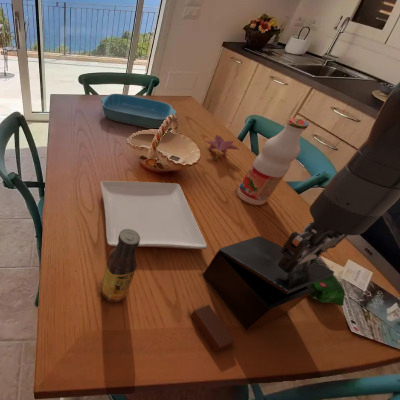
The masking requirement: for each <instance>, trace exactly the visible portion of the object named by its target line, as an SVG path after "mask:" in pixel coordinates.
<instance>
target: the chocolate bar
mask: <svg viewBox="0 0 400 400" xmlns="http://www.w3.org/2000/svg"><path fill="white" fill-rule="evenodd" d="M190 317H191V318H192V319H193V321H194V322H195V324H196V325H197V327H198V328H199V330H200V331H201V333H202V334H203V336H204V337H205V339H206V340H207V342H208V343H209V345H210V346H211V348H212V350H213V351H214V352H215V353H216V352H218V351H221V350H222V349H224V348H228V347H229V346H231V345H232V344H233V343H234V342H235V341H236V340H235V338H234V337H233V335H232V334H231V333H230V331H229V330H228V328H227V327H226V326H225V325H224V323H223V322H222V321H221V319H220V318H219V316H218V315H217V314H216V313H215V311H214V310H213V308H212V307H211V305H210V304H206V305H205V306H203V307H199V308H197V309H194V311H193V312H192V313H191V315H190Z"/></svg>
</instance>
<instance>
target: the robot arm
mask: <svg viewBox="0 0 400 400" xmlns="http://www.w3.org/2000/svg"><path fill="white" fill-rule="evenodd" d="M399 199H400V81H399V82H398V83H397V84H396V85H395V87H394V88H393V89H392V90H391V91H390V93H389V94H388V95H387V97H386V99H385V101H384V102H383V104H382V106H381V107H380V110H379V112H378V114H377V116H376V118H375V119H374V122H373V124H372V126H371V129H370V131H369V134H368V137H367V138H366V140H365V141H363V142H362V144H361V145H360V147H358V148H357V150H356V151H355V152H354V153H353V155H352V156H351V158H349V160H348V161H347V162H346V164H345V165H344V166H343V167H341V169H339V171H338V172H336V173H335V175H334V176H333V177H332V178H331V180H330V181H329V182H328V183H327V184H326V185H325V187H324V189H322V191H321V192H320V193H319V194H318V196H317V197H316V198H315V199H314V201H313V202H312V204H311V205H310V206H309V213H310V215H311V217H312V220H313V222H312V221H310V222H309V223H307V224H306V225H305V226H304V227H303V230H301V232H300V233H298V231H293V232H291V233H290V235H289V237H288V238H287V240H286V242H285V243H284V244H283V246H282V247H283V248H282V250H281V252H280V253H282V254H283V255H284V257H283V258H282V259H281V261H280V262H279V263H278V266H279V267H280V268H281V269H282V270H283V271H284V272H286V273H289V272H291V271H292V270H293V269H294V268H295V267H296V266H297V264H298V263H299V262H301V261H302V260H303V259H304V258H305V257H306V256H307V255H308V254H315V253H316V254H317V257H316V259H317V258H318V257H319V256H320V257H321V255H322V254H324V253H326V252H328V250H329V249H334V248H336V247H337V246H338V245H339V244H340V243H341V242H342V241H343V240H344V239H345V238H347V236H360V235H362V234H364V233H365V232H366V231H368V229H370V227H371V226H373V225H374V224H375V223H376V222H377V221H378V220H379V219H380V218H381V217H382V216H383V215H384V214H385V213H386V212H387V211H388V210H389V209H390V208H392V206H394V205H395V203H396V202H398V200H399ZM316 259H314V260H311V262H310V264H312V263H313V262H314V261H315V260H316Z"/></svg>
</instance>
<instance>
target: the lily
mask: <svg viewBox="0 0 400 400" xmlns="http://www.w3.org/2000/svg"><path fill="white" fill-rule="evenodd" d="M204 142H205V143H207V144H209V145H210V146H209V147H208V150H217V154H216V157H215V160H217V159H218V156H219V153H220V152H221V153H223V154H224V155H226V154H227V152H228V150H238V151H239V150H240V148H239V147H238V146H236V145H234V142H235V141H234V140H225V139H224V138H223V137H222V136H221V135H219V134H215V136H214V138H213V140H205V141H204Z"/></svg>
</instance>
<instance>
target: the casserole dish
mask: <svg viewBox="0 0 400 400" xmlns="http://www.w3.org/2000/svg"><path fill="white" fill-rule="evenodd" d="M100 103H102V110H103V114H104V116H105V117H106V118H107V119H108V120H110V121H113V122H117V123H122V124H126V125H132V126H134V127H141V128H145V129H150V130H154V129H153V128H159V127H160V126H161V124H162V123H163V121H164V120H165V118H166V117H167V116H169V115H171V114H173V115H175V116H176V115H177V110H176V109H174V108H173V106H172V105H171V104H170V103H168V102H164V101H160V100H156V99H150V98H146V97H141V96H135V95H130V94H123V93H110V94H108V95H104V96H102V97H101V98H100Z"/></svg>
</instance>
